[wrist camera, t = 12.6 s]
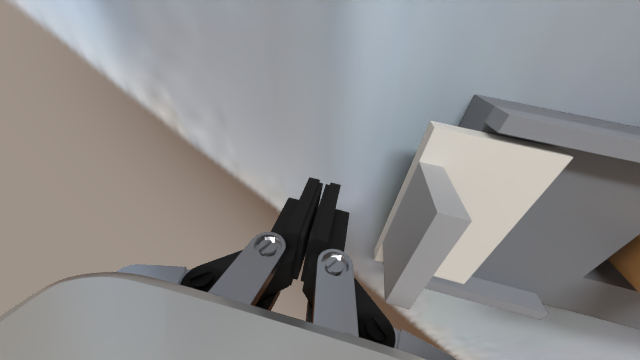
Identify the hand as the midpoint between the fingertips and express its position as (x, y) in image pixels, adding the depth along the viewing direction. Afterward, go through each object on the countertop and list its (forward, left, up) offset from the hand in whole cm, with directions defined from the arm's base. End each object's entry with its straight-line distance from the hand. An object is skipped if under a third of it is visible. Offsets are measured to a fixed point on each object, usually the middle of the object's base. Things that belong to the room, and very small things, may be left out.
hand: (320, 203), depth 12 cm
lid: (-7, 0, -2) cm, 8 cm away
